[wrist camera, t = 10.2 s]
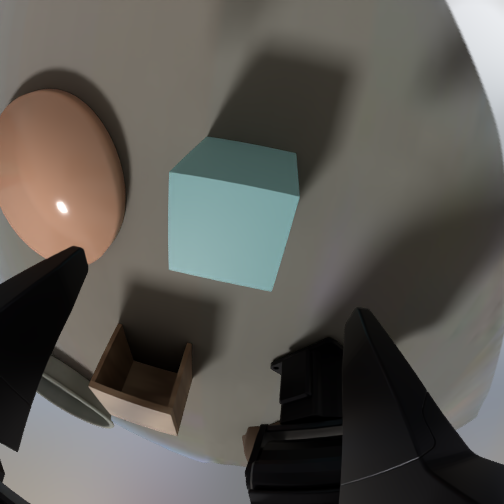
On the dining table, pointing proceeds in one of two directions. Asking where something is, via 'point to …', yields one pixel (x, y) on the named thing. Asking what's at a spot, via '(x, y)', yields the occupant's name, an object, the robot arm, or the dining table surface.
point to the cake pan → (72, 394)
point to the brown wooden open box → (141, 387)
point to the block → (232, 211)
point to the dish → (59, 175)
